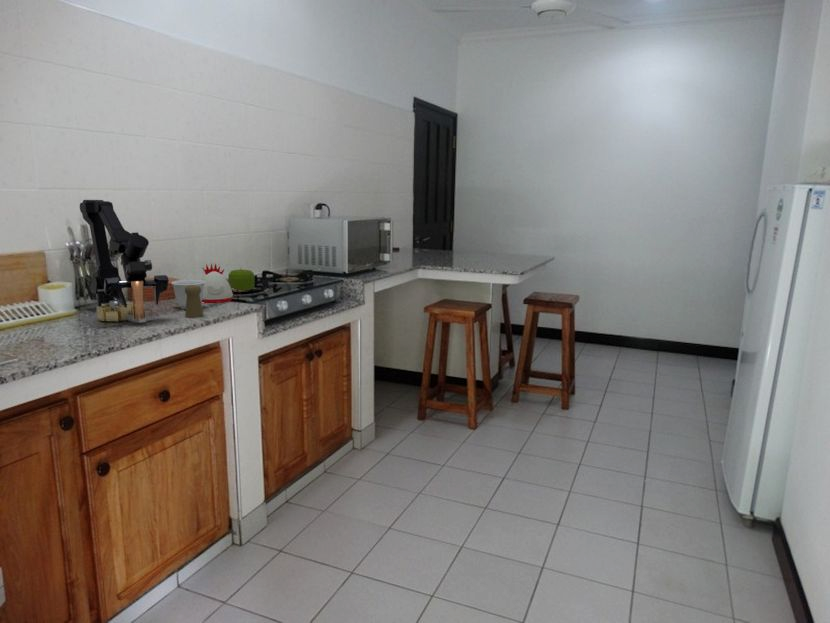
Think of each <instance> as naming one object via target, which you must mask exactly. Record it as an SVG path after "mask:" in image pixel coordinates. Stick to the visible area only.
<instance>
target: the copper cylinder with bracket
mask: <svg viewBox="0 0 830 623" xmlns="http://www.w3.org/2000/svg"><path fill="white" fill-rule="evenodd" d="M131 286H132V288H131V296H132V301H126V304H127V308H125V307H124V306H123V305H122V306H116V311H111V307H110V302H109V303H102V306H98V305H97V306H96V307H97V309H96V316H97V319H98V320H101V321H119V320H120V321H123V320H129V321H134V322H138V323H137V324H142V323H147V322H146V317H145V316H146V309H145V308H146V305H145V292H144V291H145V290H144V288H145V287H143V281H142V280H135V281H131ZM141 322H142V323H141Z"/></svg>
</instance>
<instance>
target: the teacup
mask: <svg viewBox="0 0 830 623" xmlns="http://www.w3.org/2000/svg"><path fill="white" fill-rule="evenodd" d="M205 283H206V282H205V281H204V280H202V279H179V280H174V281H171V283H170V284H171V285H172V287H173V291H174V296H175V301H176V302H177V303H178V305H180V306H181V309H182V310H184V309H186V300H187V294H186V293H185V287H186V286H188V285H198V286H200V288H201V293H200V294H199V295H200V300H201V302H202V299H203V288H204V284H205Z"/></svg>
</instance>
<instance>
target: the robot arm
mask: <svg viewBox="0 0 830 623" xmlns="http://www.w3.org/2000/svg"><path fill="white" fill-rule="evenodd" d="M79 210H80V213H81V215H82V219H83V220H84V221H85V222H86V223H87V224H88V225H89V229H90V234H91V235H90V236H91V242H92V247H93V253H94V258H95V264H96V266H95V267H94V270H93V272H92V276H93V277H92V280H91V282H90V285H89V290H90V293H91V294H95V295H96V300H97V306H102V303H109V302H110V301H111V300H118V301H119V302H120V303H121V304H122V305H123V306H124V307H125V308H127V304H126V302H127V301H126V298H125V295H124V292H123V289H126V288H127V289H129V288H130V289H132V286H131V281H135V280H142V281H143V288H153V295H154V296H153V297H154V302H155V305H156V306H158V305H159V298H160V295H161V294H162V293H164V292H166V291H167V290H168V285H169V277H168V275H166V274H162V275H161V274H158V275H154V277H153V279H151V280H147V272H148V271H149V272H150V271H152V269H153V264H152V263H153V262H152V260H151V259H145V260H143V261H141V258H143V257H144V255H145V253H146V250H147V249H148V246H149V242H150V241H149V239H148V238H146V237H145V236H143V235H141V234H139V232H129V231H128V230H125V228H124V227H123V224H122V223H121V220H120V219H119V216H118V215H117V213H116V212H115V210H114V206H113V202H111V201H107V200H106V201H105V200H103V199H83V200H82V202H80V204H79ZM106 230H107V231H106ZM107 233H108V234H109V237H110V239H109V242H108V237H107ZM109 248H110V249H109ZM110 250H111V251H112V253H113V254H114V255H120V260H121V261H120V266H122V268H123V274H124V278H125V280H124V281H122V278H121V276H120V274H119V268H118V267H117V266H116V267H115V266H114V265H113V264H112V260H111V254H110ZM97 306H94V309H95V310H97Z"/></svg>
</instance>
